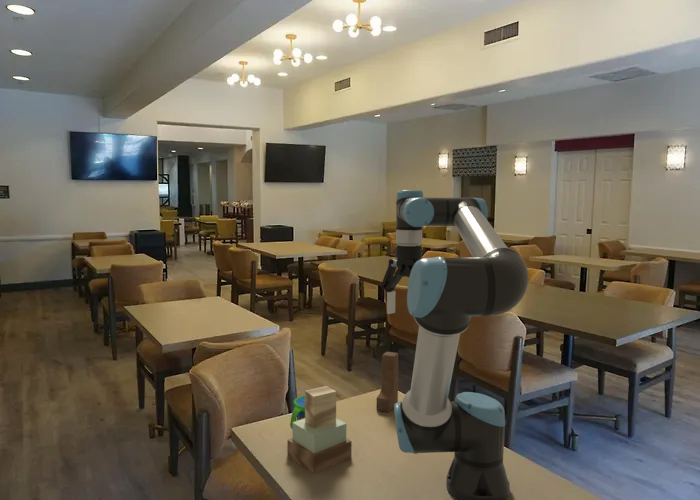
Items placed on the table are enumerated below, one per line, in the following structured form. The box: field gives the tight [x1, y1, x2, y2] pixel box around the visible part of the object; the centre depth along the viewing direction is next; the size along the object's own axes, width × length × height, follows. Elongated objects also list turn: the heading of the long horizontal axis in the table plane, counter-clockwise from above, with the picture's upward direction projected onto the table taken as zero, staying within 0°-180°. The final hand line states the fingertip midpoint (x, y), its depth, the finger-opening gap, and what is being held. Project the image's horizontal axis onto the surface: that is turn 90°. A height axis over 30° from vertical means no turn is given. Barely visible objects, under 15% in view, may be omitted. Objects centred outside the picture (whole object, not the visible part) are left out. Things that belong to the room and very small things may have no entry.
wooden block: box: [375, 351, 399, 413], centre depth 178 cm, size 9×4×18 cm, turn 154°
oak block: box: [304, 385, 337, 429], centre depth 144 cm, size 5×7×9 cm
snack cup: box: [289, 394, 305, 430], centre depth 158 cm, size 16×10×10 cm
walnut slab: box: [287, 437, 352, 474], centre depth 145 cm, size 12×13×5 cm
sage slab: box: [291, 417, 347, 453], centre depth 144 cm, size 10×11×5 cm
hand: (407, 317), depth 152 cm, fingers open, 13 cm apart
